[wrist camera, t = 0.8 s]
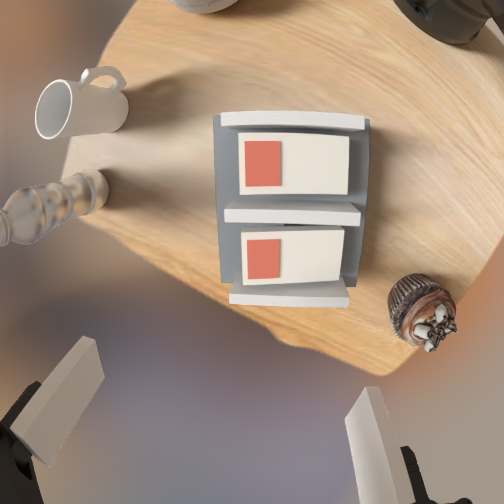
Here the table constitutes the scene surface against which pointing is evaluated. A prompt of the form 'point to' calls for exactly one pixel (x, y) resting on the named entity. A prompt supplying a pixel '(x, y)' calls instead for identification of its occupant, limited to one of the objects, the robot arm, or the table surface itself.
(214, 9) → the teacup
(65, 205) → the plastic bottle
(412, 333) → the cupcake
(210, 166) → the table surface
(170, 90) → the table surface
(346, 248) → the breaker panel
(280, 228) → the block
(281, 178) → the breaker
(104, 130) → the mug
